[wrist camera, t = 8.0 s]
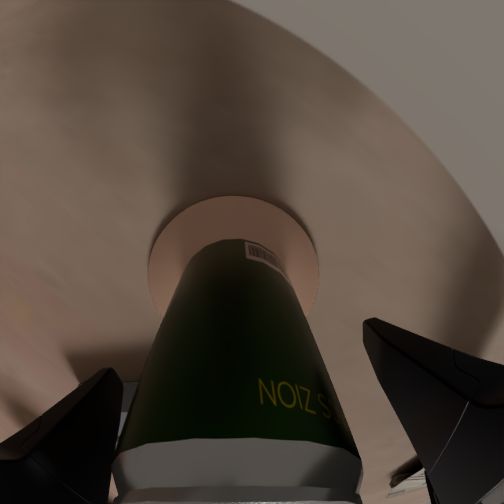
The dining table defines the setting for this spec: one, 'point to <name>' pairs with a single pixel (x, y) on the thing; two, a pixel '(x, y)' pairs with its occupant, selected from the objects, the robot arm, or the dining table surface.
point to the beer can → (235, 396)
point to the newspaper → (407, 483)
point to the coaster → (232, 227)
